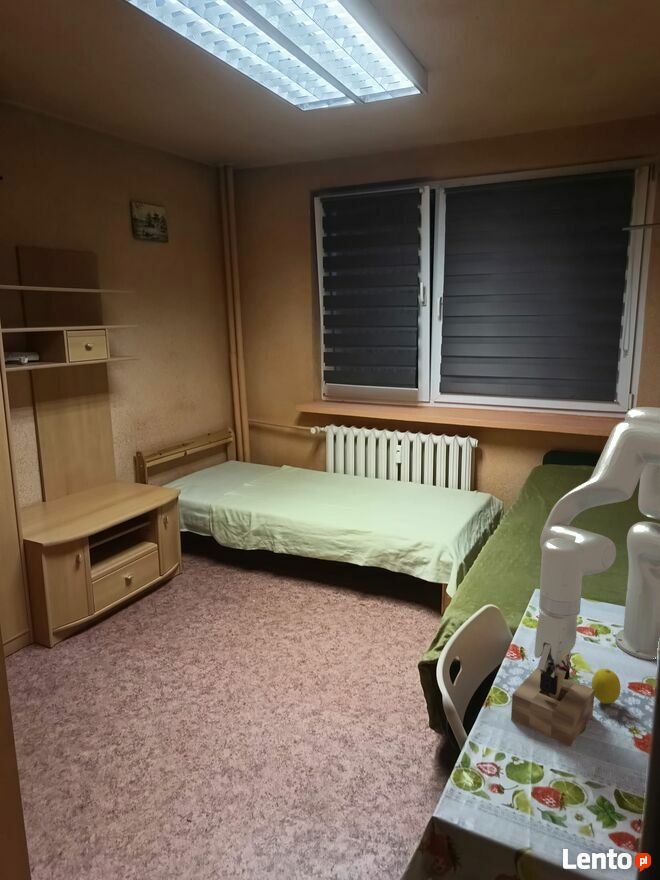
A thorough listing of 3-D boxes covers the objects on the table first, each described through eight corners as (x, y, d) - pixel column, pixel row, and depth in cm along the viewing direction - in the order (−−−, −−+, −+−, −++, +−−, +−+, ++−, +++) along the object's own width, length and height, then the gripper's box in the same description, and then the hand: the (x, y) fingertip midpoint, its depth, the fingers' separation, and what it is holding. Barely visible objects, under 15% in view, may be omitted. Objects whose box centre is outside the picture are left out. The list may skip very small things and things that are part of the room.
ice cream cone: (537, 717, 121) (541, 650, 118) (538, 700, 126) (542, 635, 123) (567, 723, 119) (572, 655, 116) (567, 706, 124) (572, 640, 121)
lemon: (622, 713, 124) (625, 678, 122) (593, 710, 125) (596, 675, 123) (615, 696, 129) (618, 663, 127) (587, 693, 130) (590, 660, 128)
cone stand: (535, 691, 131) (537, 667, 130) (592, 715, 123) (594, 689, 122) (511, 719, 122) (512, 693, 121) (570, 747, 114) (572, 719, 113)
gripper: (558, 581, 126) (553, 658, 130) (522, 612, 114) (518, 697, 118) (594, 591, 121) (588, 671, 125) (561, 625, 109) (556, 713, 113)
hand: (554, 683), depth 121 cm, fingers closed on ice cream cone, 5 cm apart
